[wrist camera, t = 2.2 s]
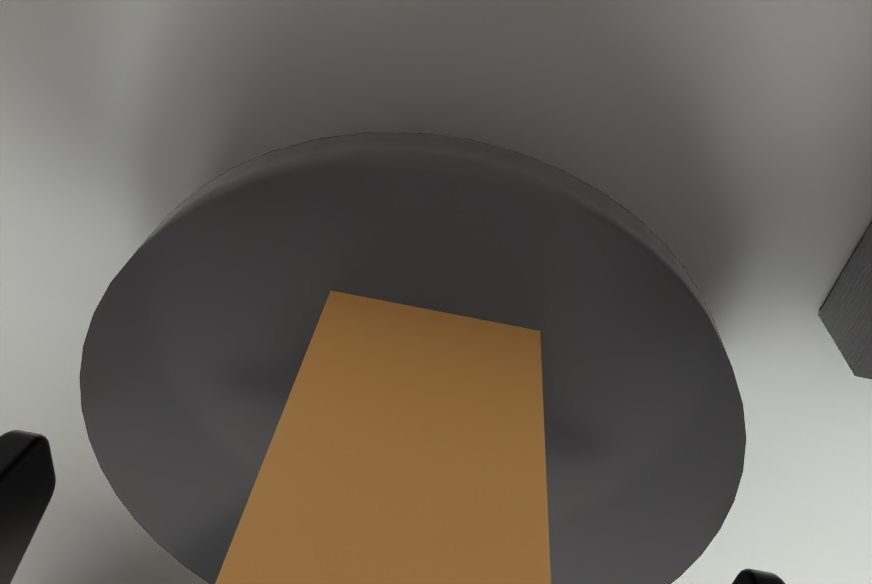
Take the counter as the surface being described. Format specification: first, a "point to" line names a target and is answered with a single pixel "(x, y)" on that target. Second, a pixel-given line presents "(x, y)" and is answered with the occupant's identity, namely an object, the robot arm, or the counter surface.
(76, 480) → the counter surface
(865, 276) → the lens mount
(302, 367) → the disc with orange block
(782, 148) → the counter surface
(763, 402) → the counter surface
